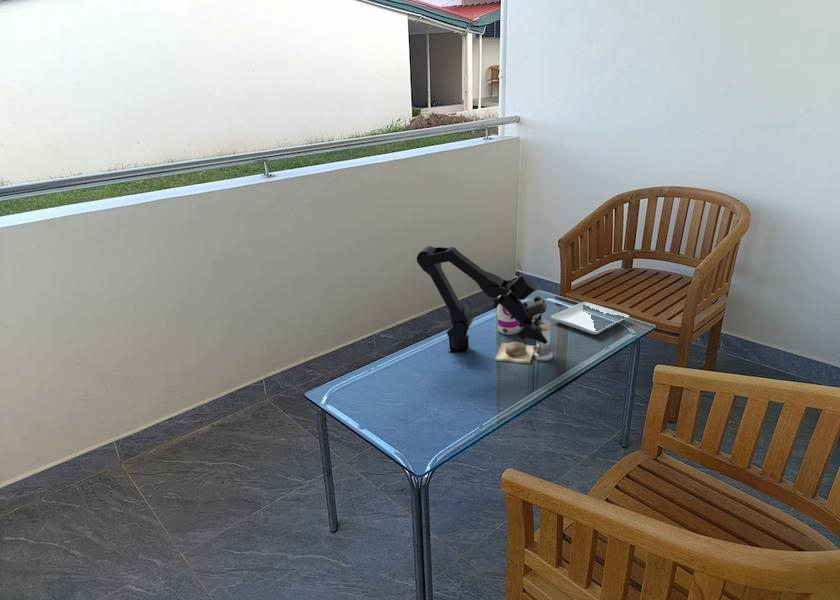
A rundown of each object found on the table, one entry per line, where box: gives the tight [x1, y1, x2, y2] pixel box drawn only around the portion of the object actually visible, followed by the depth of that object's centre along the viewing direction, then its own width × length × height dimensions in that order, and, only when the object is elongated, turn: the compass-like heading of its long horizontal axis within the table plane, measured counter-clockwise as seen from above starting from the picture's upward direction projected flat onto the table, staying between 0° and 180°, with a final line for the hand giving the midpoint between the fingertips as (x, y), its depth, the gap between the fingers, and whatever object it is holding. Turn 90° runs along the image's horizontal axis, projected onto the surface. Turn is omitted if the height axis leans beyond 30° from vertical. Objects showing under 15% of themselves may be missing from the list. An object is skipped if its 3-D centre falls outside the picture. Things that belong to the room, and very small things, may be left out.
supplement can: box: [496, 295, 520, 335], centre depth 223 cm, size 8×8×15 cm
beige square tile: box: [494, 341, 535, 364], centre depth 208 cm, size 12×12×3 cm
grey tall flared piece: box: [533, 318, 554, 362], centre depth 203 cm, size 7×6×13 cm
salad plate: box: [551, 301, 630, 335], centre depth 228 cm, size 21×21×3 cm
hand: (547, 339), depth 202 cm, fingers closed on grey tall flared piece, 4 cm apart
